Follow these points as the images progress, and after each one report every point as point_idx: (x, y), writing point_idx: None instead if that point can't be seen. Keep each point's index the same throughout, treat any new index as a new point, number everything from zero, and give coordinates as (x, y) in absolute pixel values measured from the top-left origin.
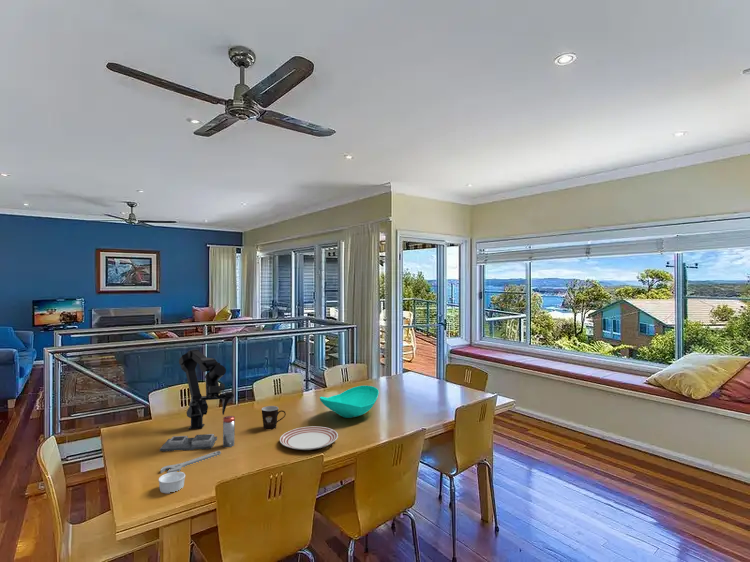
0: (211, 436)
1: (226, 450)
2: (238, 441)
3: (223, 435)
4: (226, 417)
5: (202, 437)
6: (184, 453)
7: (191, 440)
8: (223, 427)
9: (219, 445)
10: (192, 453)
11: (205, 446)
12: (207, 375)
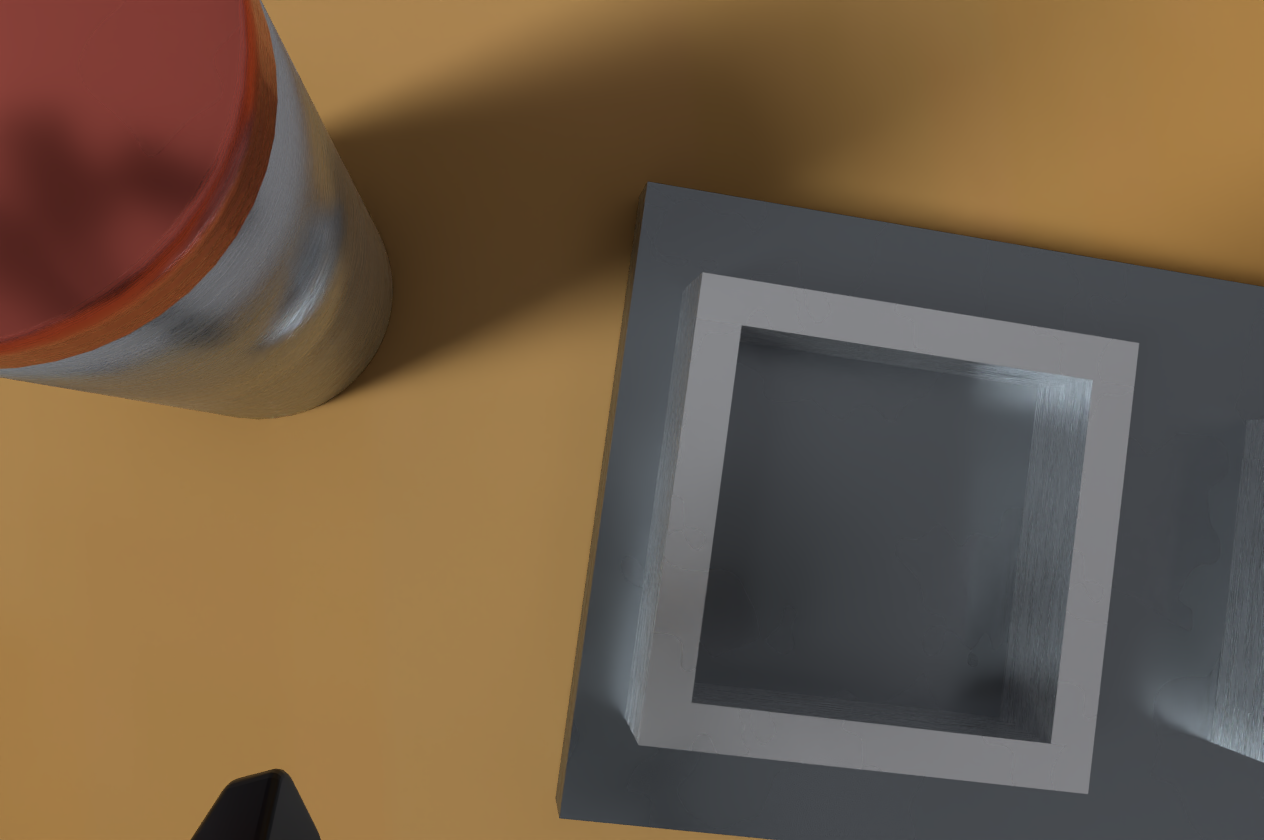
0: (695, 561)
1: (300, 10)
2: (21, 499)
3: (344, 167)
4: (50, 88)
5: (910, 715)
6: (1144, 124)
7: (1125, 687)
8: (305, 91)
9: (474, 362)
10: (993, 73)
11: (777, 212)
12: None
